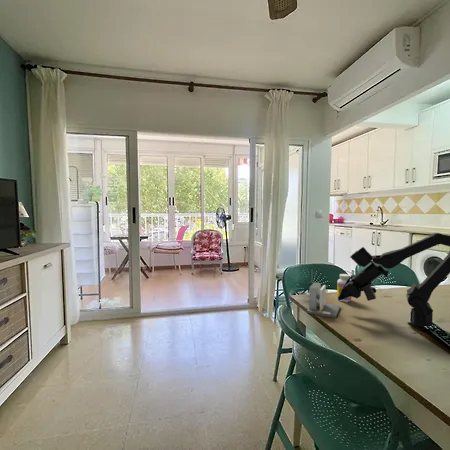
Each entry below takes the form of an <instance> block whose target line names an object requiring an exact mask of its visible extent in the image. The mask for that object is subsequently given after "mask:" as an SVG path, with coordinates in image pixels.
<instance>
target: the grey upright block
mask: <svg viewBox="0 0 450 450" xmlns="http://www.w3.org/2000/svg"><path fill="white" fill-rule="evenodd" d="M326 286H327V285H326V284H323V285H321V289H320V294H318V299H320V310H319V312H321V310H323V308H324V306H325V304H326V302H327V300H326V297H327V296H326V295H327V287H326ZM306 298H309V292H306Z"/></svg>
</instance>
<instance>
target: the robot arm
mask: <svg viewBox="0 0 450 450" xmlns="http://www.w3.org/2000/svg"><path fill="white" fill-rule="evenodd" d="M438 245H443V246H446V247H450V235H447V234H442V233H440V232H434V233H432V234H431V235H429V236H426V237H424V238H422V239H420V240H417V241H415V242H413V243H410V244H408V245H407V246H404V247H402V248H399V249H395V250H390V251H386V252H383V253H382V254H378V255H377V254H376V255H372V254H371V253H370V252H369V251H368V250H367V249H366V248H365V247H364V246H362V247H361V248H359V249H358V250H356V251H355V252H353V253H352V254H351V255H350V257H349V258H350V259H351V260H353V262H354V263H356V265H358V266H359V267H360V268H363V270H360V271H359V272H358V273H357V274H351V275H350V277H349V279H348V280H347V282H346V283H345V285H344V287H343V289H342V291H341V293H340V295H339V297H338V299H337V300H338V301H340V300H342V299H345V298H347V297H350V296H351V298H352V297H353V298H355V299H358V298H360V297H361V296H362V292H363V293H364V295H365V297H366V301H372V300H376V298H377V295H376V293H377V289H376V287H375V286H372V283H373V282H374V281H376V280H378V278H380V277H381V276H382V275H383V276H384V277H385V278H389V270H390V269H394V268H395V267H397V266H398V265H400V264H401V263H402V262H403V261H405V260H406V259H408V258H410V257H412V256H415V255H418V254H420V253H422V252H424V251H426V250H429V249H431V248H433V247H436V246H438ZM449 274H450V250H449V251H448V253H447V255H446V256H445V257H444V258H443V260H442V261H440V263H439V264H437V266H436V267H434V269H433V270H432V271H431V272H430V273H429V274H428V275H427V276H426V278H425V279H424V280H423V281H421V283H419V284H415V283H414V282H413V283H412V284H411V286H410V287H409V288H408V289H406V295H405V297H406V300H407V303H408V305H409V306H410V307H411V311H410V321H408V322H407V324H408V325H410V326H412V327H414V328H416V329H418V330H420V331H425V330H424V329H423V328H422V326H433V315H434V314H433V312H434V309H433V308H432V306H431V304H430V303H429V300H430V298H431V296H432V293H433V291H434V290H435V289H436V288H437V287H438V286H439V285H440V284H441V283H442V282H443V281H445V279H446V278H447V277H448V276H449ZM340 302H341V301H340Z"/></svg>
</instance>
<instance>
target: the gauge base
mask: <svg viewBox="0 0 450 450" xmlns="http://www.w3.org/2000/svg"><path fill="white" fill-rule="evenodd" d="M340 309H341V305H339V304H332V303H326V304H325V306H324V308H323V310H321V312H319V310H320V305H319V307H318V309H317V310H316V311H315V310H309V308H307V310H306V313H307V314H310V315H311V314H312V315H316V316H323V317H328V318H333V319H337V316H338V314H339V311H340Z"/></svg>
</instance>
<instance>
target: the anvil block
mask: <svg viewBox="0 0 450 450" xmlns="http://www.w3.org/2000/svg"><path fill="white" fill-rule="evenodd" d="M321 284H322V283H321V282H313V283H312V284H311V285H310V286H309V291H308V293H309V297H308V299H309V307H308V309H309V310H315V311H316V310H317V309H318V307H319V305H320V299H318V294H320V289H321V288H322V285H321Z"/></svg>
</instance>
